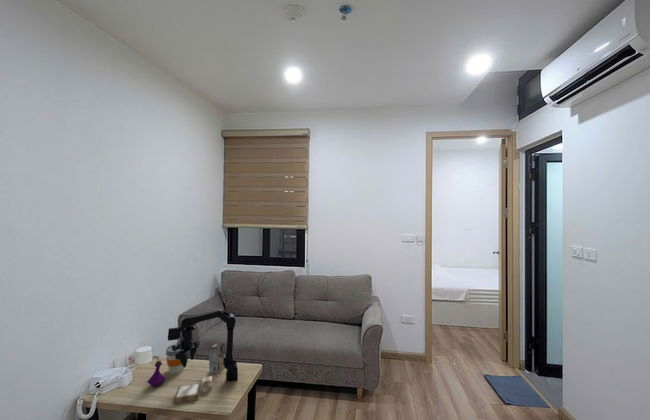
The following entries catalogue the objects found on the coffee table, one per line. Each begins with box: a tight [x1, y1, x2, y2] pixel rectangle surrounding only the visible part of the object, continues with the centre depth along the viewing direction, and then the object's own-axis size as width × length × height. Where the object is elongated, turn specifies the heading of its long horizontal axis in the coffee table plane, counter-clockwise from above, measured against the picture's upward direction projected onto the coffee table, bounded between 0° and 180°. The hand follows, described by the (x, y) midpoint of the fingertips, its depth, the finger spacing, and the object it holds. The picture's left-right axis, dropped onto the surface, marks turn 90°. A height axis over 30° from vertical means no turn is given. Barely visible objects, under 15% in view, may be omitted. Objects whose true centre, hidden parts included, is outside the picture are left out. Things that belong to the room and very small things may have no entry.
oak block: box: [201, 375, 213, 393], centre depth 180 cm, size 5×5×6 cm
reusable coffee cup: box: [165, 344, 185, 375], centre depth 202 cm, size 13×13×15 cm
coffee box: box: [208, 341, 226, 374], centre depth 202 cm, size 9×6×16 cm
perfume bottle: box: [147, 354, 167, 388], centre depth 184 cm, size 8×8×18 cm
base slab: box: [173, 382, 202, 405], centre depth 173 cm, size 12×12×3 cm
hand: (188, 363), depth 182 cm, fingers open, 9 cm apart
